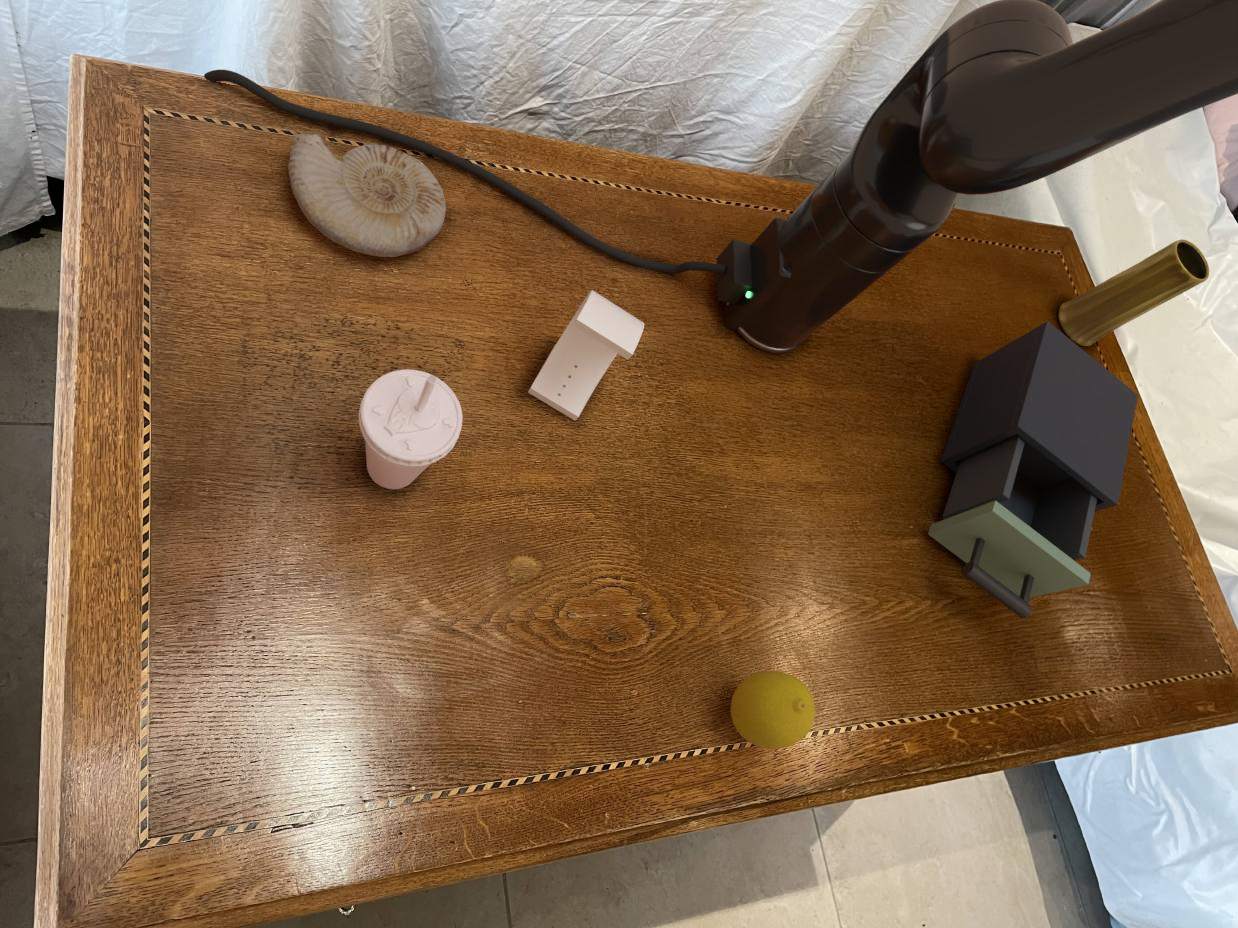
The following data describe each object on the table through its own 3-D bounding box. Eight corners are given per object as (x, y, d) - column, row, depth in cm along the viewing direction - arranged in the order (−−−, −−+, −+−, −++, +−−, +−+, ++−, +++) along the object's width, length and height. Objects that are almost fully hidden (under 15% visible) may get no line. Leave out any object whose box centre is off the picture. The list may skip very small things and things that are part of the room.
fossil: (287, 241, 58) (288, 108, 58) (287, 260, 63) (287, 136, 63) (452, 258, 63) (452, 135, 63) (440, 275, 67) (440, 160, 68)
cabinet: (1032, 531, 81) (1118, 504, 73) (940, 461, 80) (1017, 425, 71) (1057, 430, 89) (1138, 394, 80) (973, 363, 87) (1047, 320, 79)
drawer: (1007, 637, 74) (1081, 624, 67) (915, 570, 72) (981, 549, 66) (1043, 494, 83) (1111, 469, 76) (961, 431, 81) (1023, 400, 74)
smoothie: (454, 471, 60) (500, 395, 47) (388, 524, 56) (420, 457, 44) (396, 409, 59) (428, 317, 47) (327, 458, 56) (342, 373, 44)
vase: (1090, 311, 99) (1206, 245, 87) (1097, 353, 96) (1218, 291, 84) (1054, 297, 97) (1167, 228, 85) (1060, 339, 95) (1178, 274, 82)
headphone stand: (527, 392, 64) (576, 319, 54) (557, 339, 67) (609, 260, 57) (575, 421, 65) (632, 354, 55) (603, 368, 68) (663, 295, 58)
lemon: (733, 763, 60) (793, 762, 53) (701, 695, 61) (755, 686, 54) (785, 729, 63) (848, 724, 56) (753, 664, 64) (812, 651, 57)
